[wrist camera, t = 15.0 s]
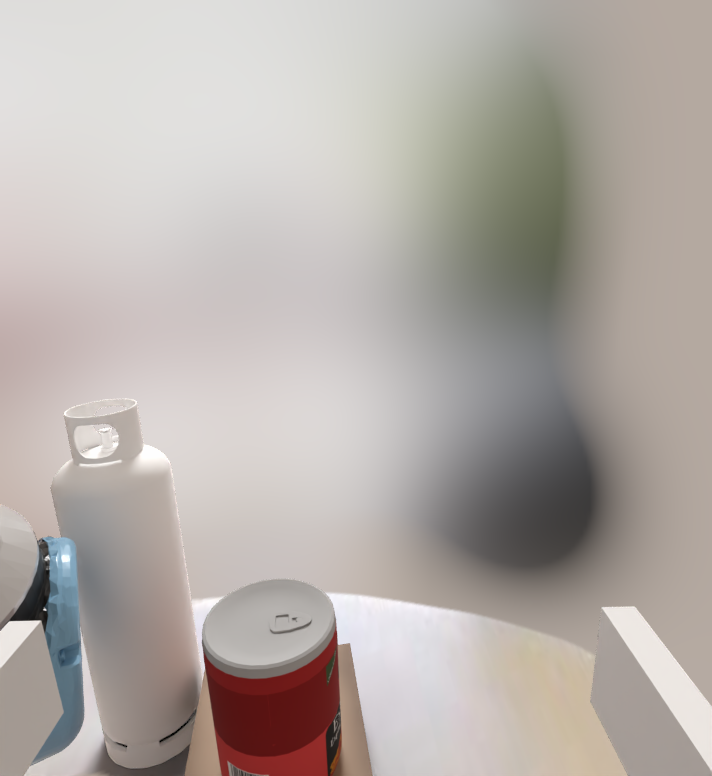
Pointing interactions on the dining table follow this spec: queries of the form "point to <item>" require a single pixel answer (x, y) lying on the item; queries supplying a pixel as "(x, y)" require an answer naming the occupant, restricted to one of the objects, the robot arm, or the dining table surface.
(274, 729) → the canned food
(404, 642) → the dining table surface
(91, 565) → the bottle
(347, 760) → the walnut box
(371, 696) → the dining table surface
